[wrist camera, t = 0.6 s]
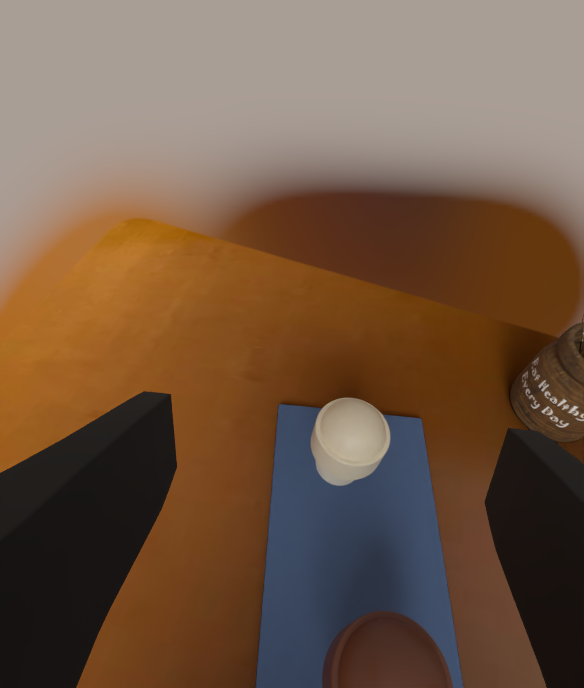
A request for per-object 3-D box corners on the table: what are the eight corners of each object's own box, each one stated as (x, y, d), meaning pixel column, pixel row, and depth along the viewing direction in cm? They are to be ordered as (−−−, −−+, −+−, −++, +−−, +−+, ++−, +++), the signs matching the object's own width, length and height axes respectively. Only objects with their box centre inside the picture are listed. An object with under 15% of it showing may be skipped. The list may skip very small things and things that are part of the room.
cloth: (484, 847, 18) (489, 850, 18) (243, 835, 18) (243, 838, 17) (419, 421, 31) (421, 418, 31) (278, 406, 30) (278, 403, 30)
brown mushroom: (418, 759, 19) (488, 780, 14) (310, 752, 19) (341, 772, 14) (405, 630, 22) (459, 608, 17) (312, 622, 22) (338, 598, 17)
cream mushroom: (372, 500, 26) (402, 458, 22) (303, 494, 26) (319, 449, 22) (368, 437, 29) (394, 387, 24) (305, 431, 29) (320, 379, 24)
